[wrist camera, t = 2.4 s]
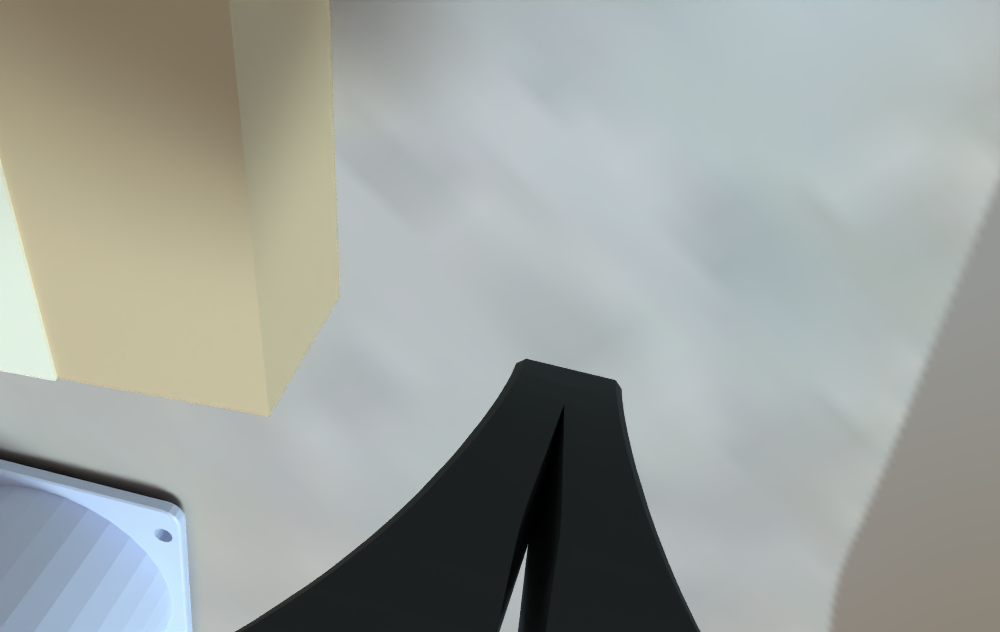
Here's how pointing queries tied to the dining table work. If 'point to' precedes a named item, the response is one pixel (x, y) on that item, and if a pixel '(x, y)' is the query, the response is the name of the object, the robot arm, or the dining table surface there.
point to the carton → (167, 194)
